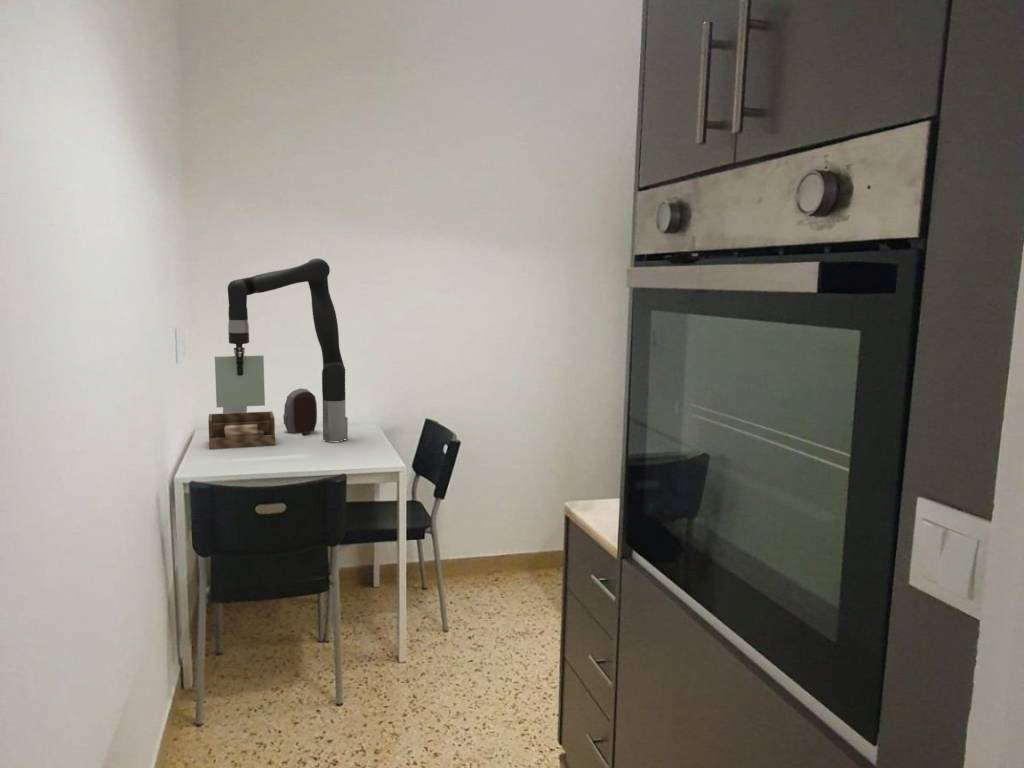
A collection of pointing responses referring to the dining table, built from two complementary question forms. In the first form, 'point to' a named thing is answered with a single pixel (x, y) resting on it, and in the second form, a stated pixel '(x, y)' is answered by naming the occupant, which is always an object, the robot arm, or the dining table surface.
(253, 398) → the sheet
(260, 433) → the offcut middle
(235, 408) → the skincare box
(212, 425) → the rack
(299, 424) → the grey rounded bag
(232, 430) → the offcut top
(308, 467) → the dining table surface
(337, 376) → the robot arm
